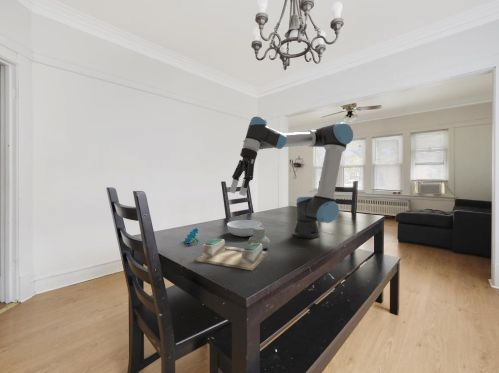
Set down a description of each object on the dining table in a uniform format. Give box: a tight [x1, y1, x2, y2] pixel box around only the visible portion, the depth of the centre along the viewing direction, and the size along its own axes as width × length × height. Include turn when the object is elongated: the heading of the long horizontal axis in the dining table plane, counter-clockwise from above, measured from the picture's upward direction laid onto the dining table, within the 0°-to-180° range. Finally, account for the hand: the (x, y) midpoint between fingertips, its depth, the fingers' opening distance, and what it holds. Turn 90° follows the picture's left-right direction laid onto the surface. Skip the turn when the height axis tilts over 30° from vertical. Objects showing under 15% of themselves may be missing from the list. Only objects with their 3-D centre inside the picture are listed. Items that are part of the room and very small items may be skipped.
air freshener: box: [247, 226, 271, 250], centre depth 115 cm, size 11×8×10 cm
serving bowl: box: [226, 219, 262, 238], centre depth 140 cm, size 21×21×7 cm
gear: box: [184, 227, 199, 245], centre depth 126 cm, size 11×6×10 cm
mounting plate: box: [195, 237, 268, 271], centre depth 102 cm, size 26×18×6 cm
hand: (236, 193), depth 106 cm, fingers open, 13 cm apart
